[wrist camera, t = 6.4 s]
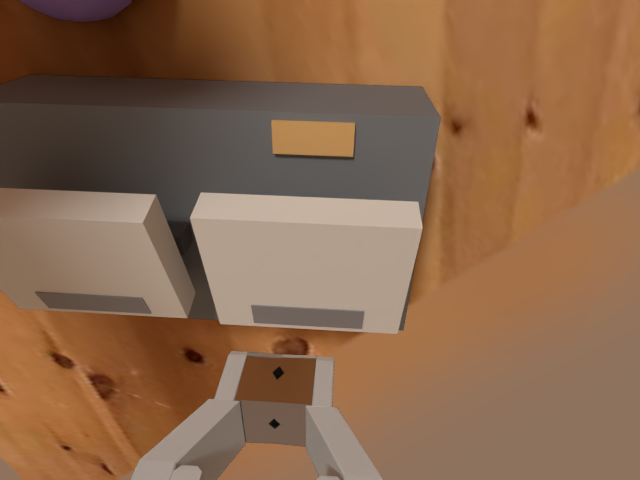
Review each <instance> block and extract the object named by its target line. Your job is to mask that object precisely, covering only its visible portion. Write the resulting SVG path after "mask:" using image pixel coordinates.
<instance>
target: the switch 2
mask: <svg viewBox="0 0 640 480" xmlns="http://www.w3.org/2000/svg"><path fill="white" fill-rule="evenodd" d="M190 221H191V224H192V228H193V231H194V234H195V238H196V241H197V245H198V248H199V252H200V255H201V259H202V262H203V266H204V269H205V273H206V276H207V280H208V283H209V287H210V290H211V294H212V297H213V301H214V304H215V308H216V311H217V315H218V318H219V322H220V324H228V325H246V326H263V327H281V328H299V329H316V330H334V331H352V332H370V333H388V334H398V330H399V326H400V321H401V317H402V313H403V309H404V305H405V301H406V296H407V292H408V288H409V284H410V280H411V276H412V271H413V267H414V263H415V259H416V255H417V251H418V246H419V242H420V238H421V234H422V230H423V227H422V221H421V215H420V209H419V203H418V202H413V201H390V200H367V199H343V198H320V197H297V196H273V195H250V194H226V193H203V192H201V193H200V196H199V198H198V200H197V203H196V205H195V207H194V209H193V212H192V214H191V216H190Z"/></svg>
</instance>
